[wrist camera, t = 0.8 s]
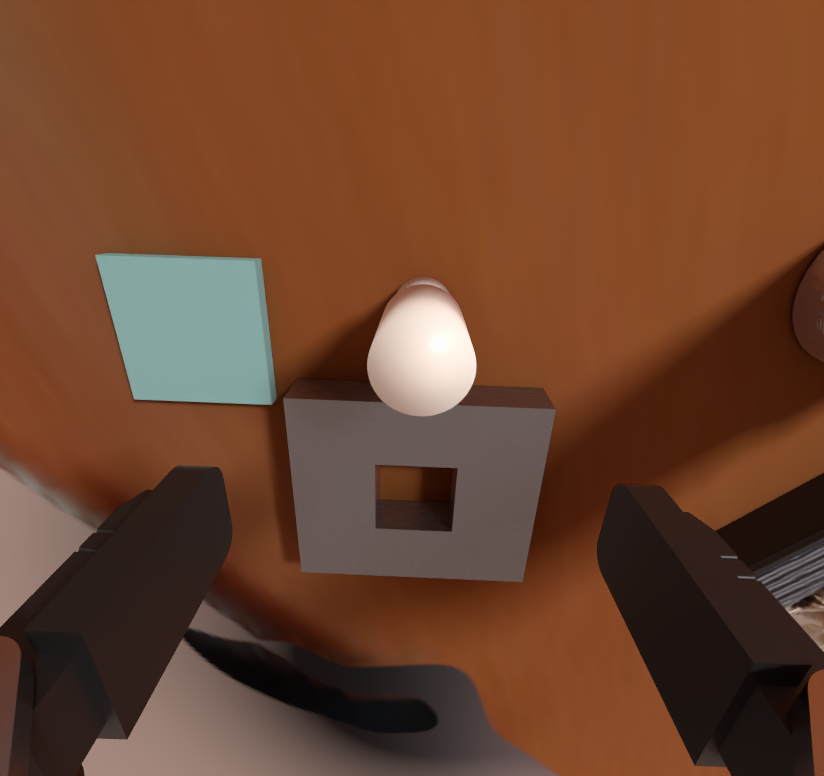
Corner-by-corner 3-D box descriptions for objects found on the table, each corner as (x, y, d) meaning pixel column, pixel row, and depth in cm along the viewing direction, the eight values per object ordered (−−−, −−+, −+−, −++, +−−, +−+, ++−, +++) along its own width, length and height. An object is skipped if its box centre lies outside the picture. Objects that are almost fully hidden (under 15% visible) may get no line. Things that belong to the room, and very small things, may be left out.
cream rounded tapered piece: (460, 272, 24) (481, 316, 15) (455, 341, 26) (471, 418, 17) (388, 270, 24) (366, 312, 15) (387, 339, 26) (367, 414, 17)
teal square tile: (261, 258, 24) (254, 260, 23) (276, 398, 28) (271, 404, 27) (107, 253, 24) (95, 255, 24) (143, 392, 28) (134, 399, 27)
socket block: (542, 388, 27) (555, 409, 24) (514, 550, 33) (522, 582, 30) (297, 378, 27) (283, 398, 25) (311, 541, 33) (301, 572, 30)
